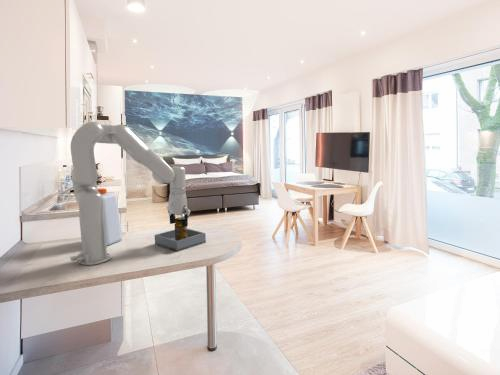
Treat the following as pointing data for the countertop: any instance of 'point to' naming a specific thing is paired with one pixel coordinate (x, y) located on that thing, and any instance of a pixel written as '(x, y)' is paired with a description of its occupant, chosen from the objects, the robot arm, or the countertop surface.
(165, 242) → the open bin
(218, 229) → the countertop surface
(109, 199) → the plastic bottle
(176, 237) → the condiment
